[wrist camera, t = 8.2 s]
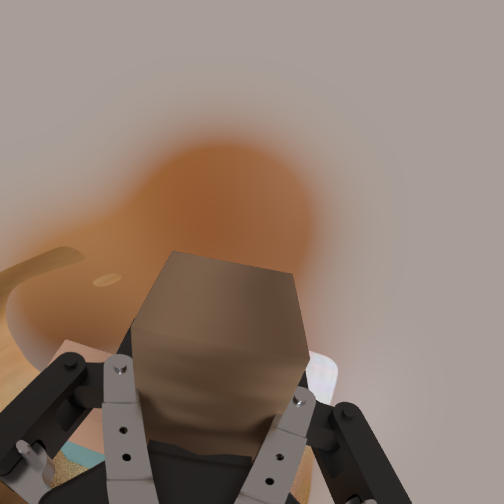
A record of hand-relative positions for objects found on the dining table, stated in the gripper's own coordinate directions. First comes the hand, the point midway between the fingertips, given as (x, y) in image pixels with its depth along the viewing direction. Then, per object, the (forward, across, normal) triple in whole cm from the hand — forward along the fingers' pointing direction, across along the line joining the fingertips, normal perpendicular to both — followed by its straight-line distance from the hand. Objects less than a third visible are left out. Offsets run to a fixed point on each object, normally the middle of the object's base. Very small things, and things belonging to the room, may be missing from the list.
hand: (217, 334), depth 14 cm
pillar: (-3, 0, +6) cm, 7 cm away
